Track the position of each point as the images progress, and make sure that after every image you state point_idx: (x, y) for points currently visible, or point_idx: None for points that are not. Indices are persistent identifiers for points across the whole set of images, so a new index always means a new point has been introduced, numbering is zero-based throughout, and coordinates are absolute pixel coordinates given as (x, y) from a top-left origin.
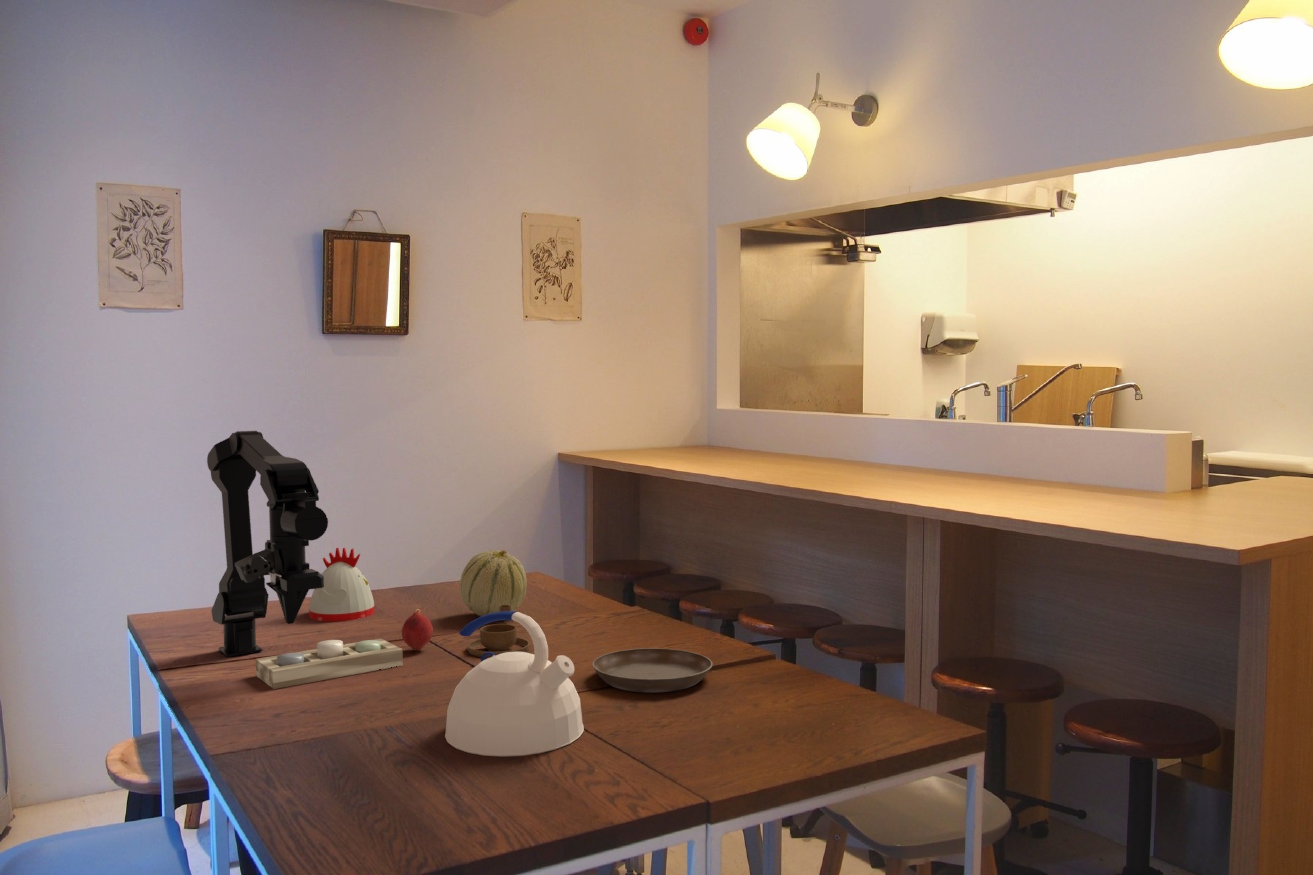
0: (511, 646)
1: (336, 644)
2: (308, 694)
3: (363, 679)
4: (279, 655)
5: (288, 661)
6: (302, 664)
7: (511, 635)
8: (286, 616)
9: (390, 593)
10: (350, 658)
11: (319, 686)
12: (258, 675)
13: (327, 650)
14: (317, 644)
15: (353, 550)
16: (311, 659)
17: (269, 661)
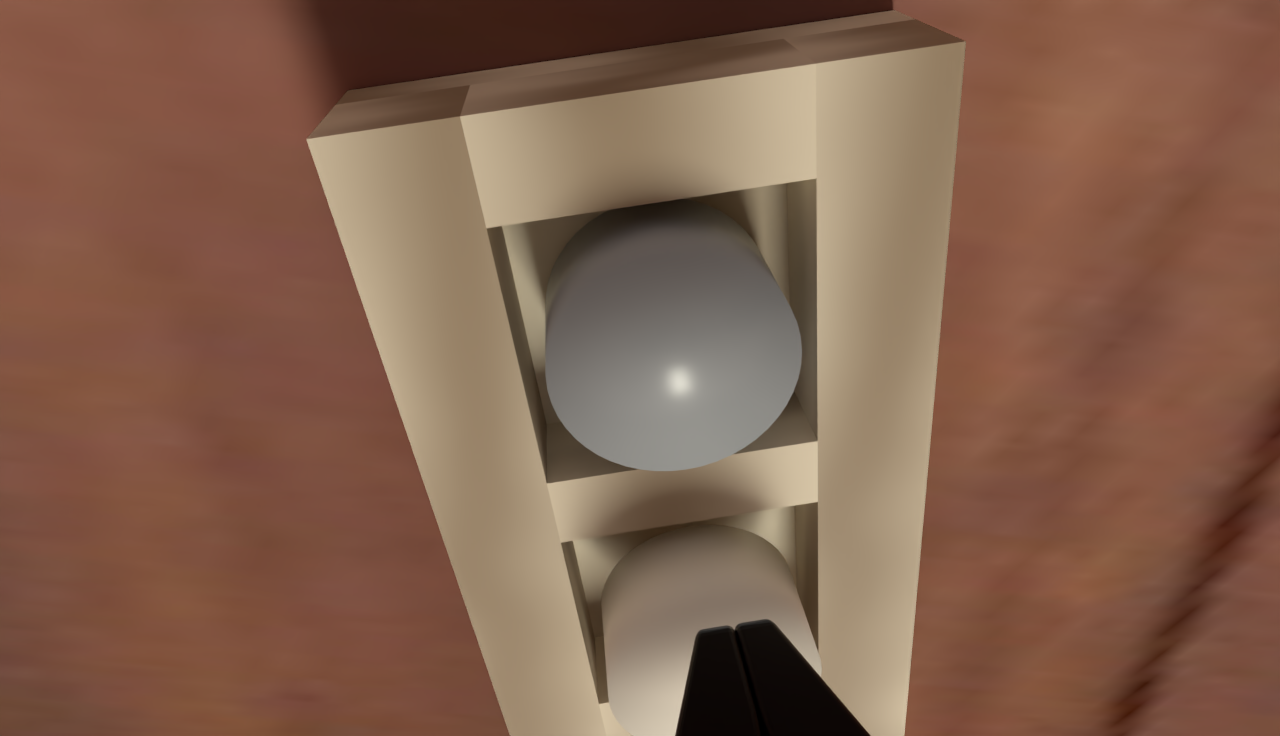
0: None
1: (630, 716)
2: (79, 320)
3: (363, 640)
4: (758, 281)
5: (549, 326)
6: (470, 414)
7: None
8: (678, 733)
9: None
10: (498, 693)
11: (294, 414)
12: (824, 25)
13: (614, 633)
14: (724, 613)
15: None
16: (609, 490)
17: (761, 163)
